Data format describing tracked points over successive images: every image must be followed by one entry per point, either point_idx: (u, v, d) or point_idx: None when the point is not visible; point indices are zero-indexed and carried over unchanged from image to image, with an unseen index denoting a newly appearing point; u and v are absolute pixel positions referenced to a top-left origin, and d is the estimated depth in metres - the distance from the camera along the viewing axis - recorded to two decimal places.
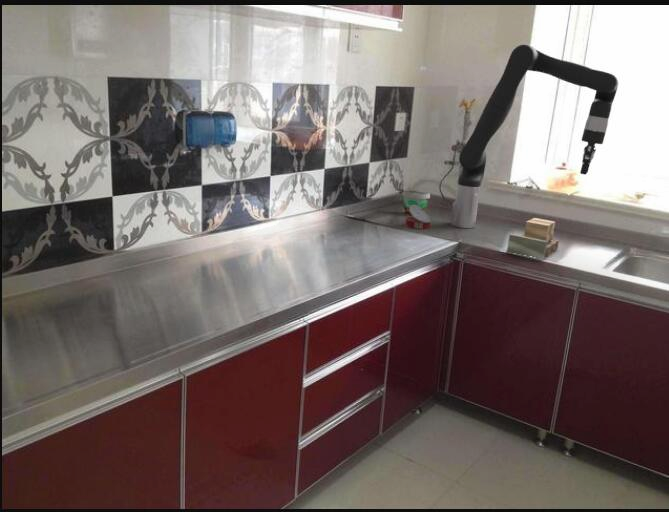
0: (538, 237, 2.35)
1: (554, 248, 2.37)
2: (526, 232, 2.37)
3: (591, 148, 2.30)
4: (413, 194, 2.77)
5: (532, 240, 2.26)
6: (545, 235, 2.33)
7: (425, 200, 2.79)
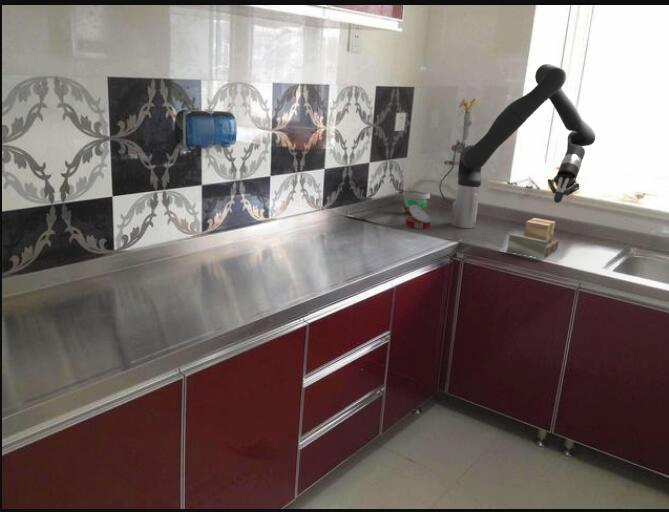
0: (538, 237, 2.35)
1: (554, 248, 2.37)
2: (526, 232, 2.37)
3: (578, 188, 2.54)
4: (413, 194, 2.77)
5: (532, 240, 2.26)
6: (545, 235, 2.33)
7: (425, 200, 2.79)
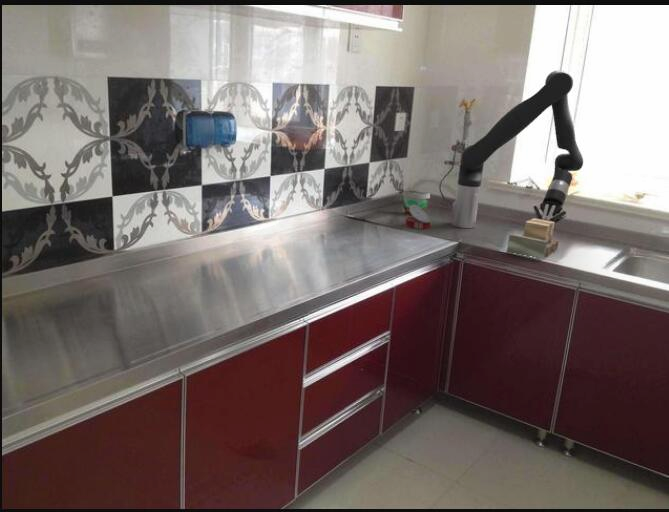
0: (537, 237, 2.34)
1: (554, 248, 2.37)
2: (525, 232, 2.36)
3: (565, 216, 2.44)
4: (413, 194, 2.77)
5: (532, 240, 2.26)
6: (544, 235, 2.32)
7: (425, 200, 2.79)
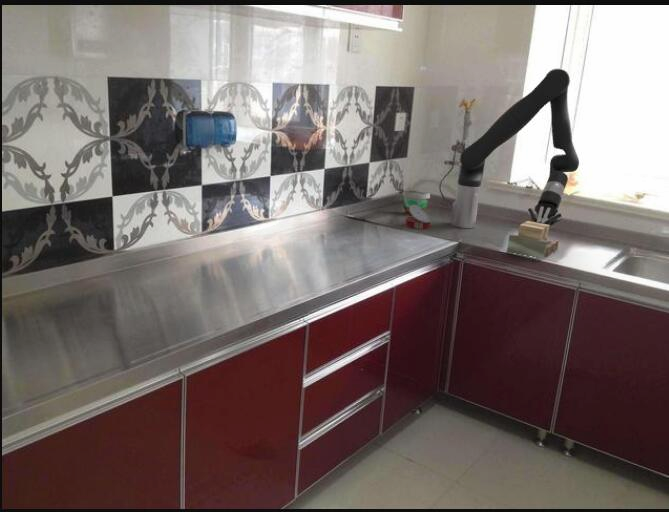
0: None
1: (554, 248, 2.37)
2: None
3: (560, 219, 2.38)
4: (413, 194, 2.77)
5: (532, 240, 2.26)
6: None
7: (425, 200, 2.79)
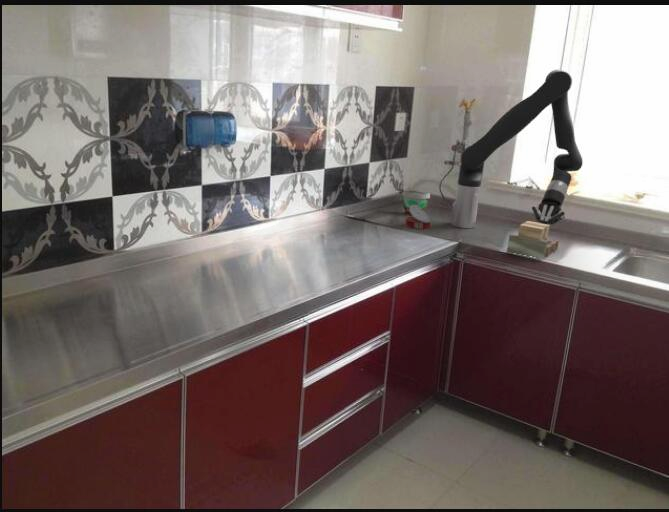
0: None
1: (554, 248, 2.37)
2: None
3: (563, 217, 2.41)
4: (413, 194, 2.77)
5: (532, 240, 2.26)
6: None
7: (425, 200, 2.79)
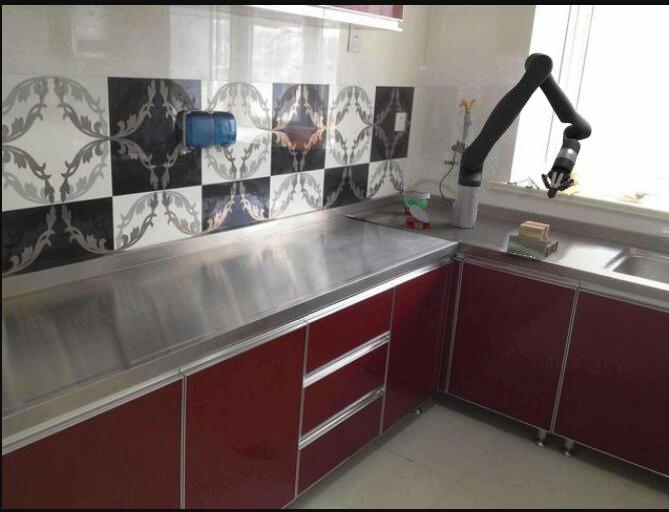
0: None
1: (554, 248, 2.37)
2: None
3: (572, 184, 2.43)
4: (413, 194, 2.77)
5: (532, 240, 2.26)
6: None
7: (425, 200, 2.79)
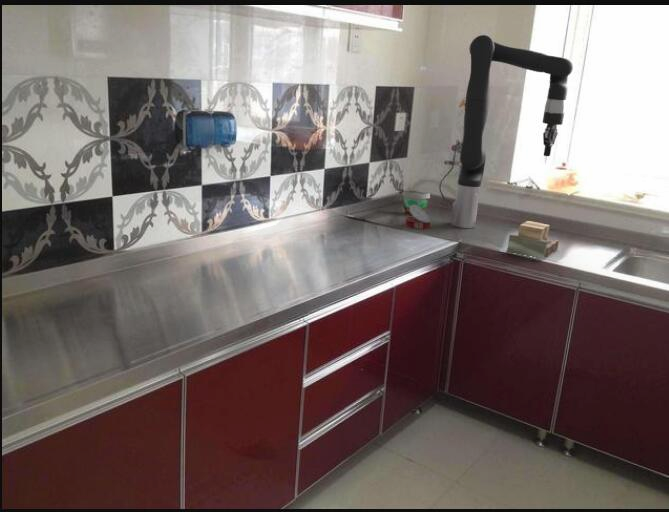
0: None
1: (554, 248, 2.37)
2: None
3: (548, 135, 2.48)
4: (413, 194, 2.77)
5: (532, 240, 2.26)
6: None
7: (425, 200, 2.79)
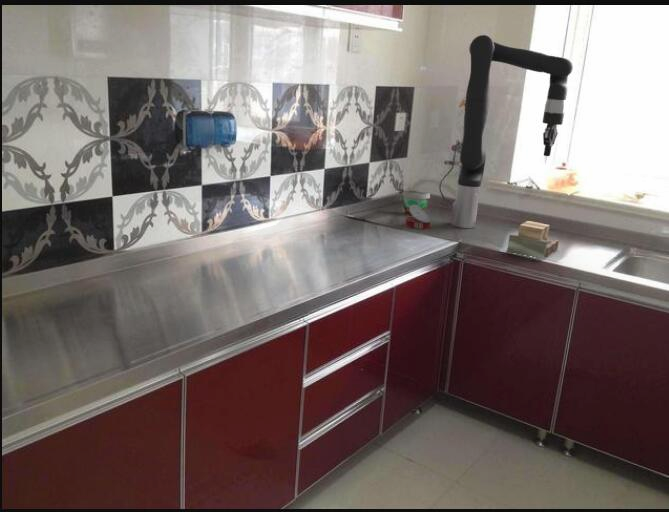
0: None
1: (554, 248, 2.37)
2: None
3: (548, 135, 2.48)
4: (413, 194, 2.77)
5: (532, 240, 2.26)
6: None
7: (425, 200, 2.79)
